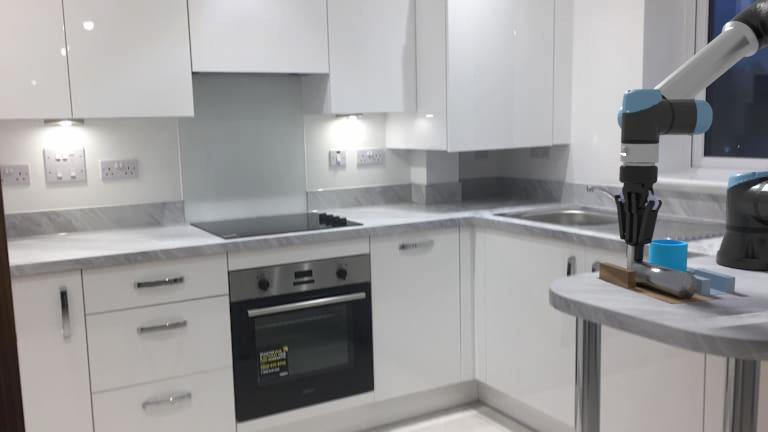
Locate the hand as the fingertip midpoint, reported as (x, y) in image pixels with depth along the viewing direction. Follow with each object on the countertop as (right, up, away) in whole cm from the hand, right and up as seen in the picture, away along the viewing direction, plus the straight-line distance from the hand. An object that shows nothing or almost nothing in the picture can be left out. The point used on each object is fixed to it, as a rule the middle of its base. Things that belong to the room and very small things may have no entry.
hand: (633, 274), depth 149 cm
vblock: (+12, -4, -6) cm, 14 cm away
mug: (+13, -2, +13) cm, 19 cm away
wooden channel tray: (+2, -4, -4) cm, 6 cm away
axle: (+3, -3, -8) cm, 9 cm away
